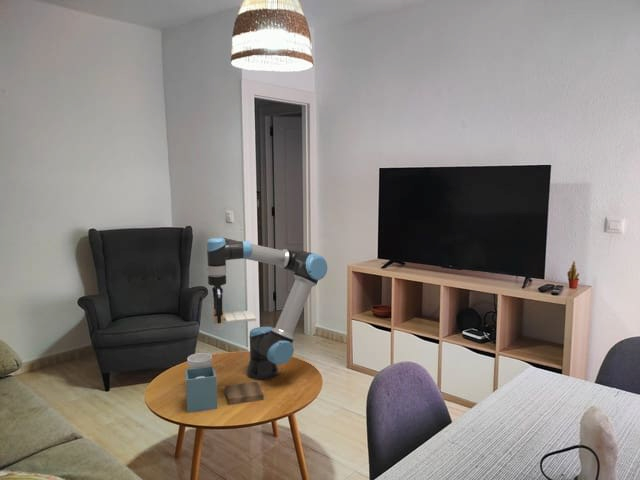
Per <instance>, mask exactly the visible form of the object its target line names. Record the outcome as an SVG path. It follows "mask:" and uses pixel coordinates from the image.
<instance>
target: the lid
mask: <svg viewBox="0 0 640 480" xmlns="http://www.w3.org/2000/svg"><path fill="white" fill-rule="evenodd" d="M222 313H223V315H222V325H223V324H225V323H226V324H233V323H234V324H236V323H245V322H255V321H257V317H256V316H255V314H254V313H253V311H252V310H241V311H231V312H230V311H229V312H224V308H223V307H222ZM214 315H216V309H214V308H212V323H213V325H214V326H215V325H216V317H215V316H214ZM224 321H225V323H224Z"/></svg>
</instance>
